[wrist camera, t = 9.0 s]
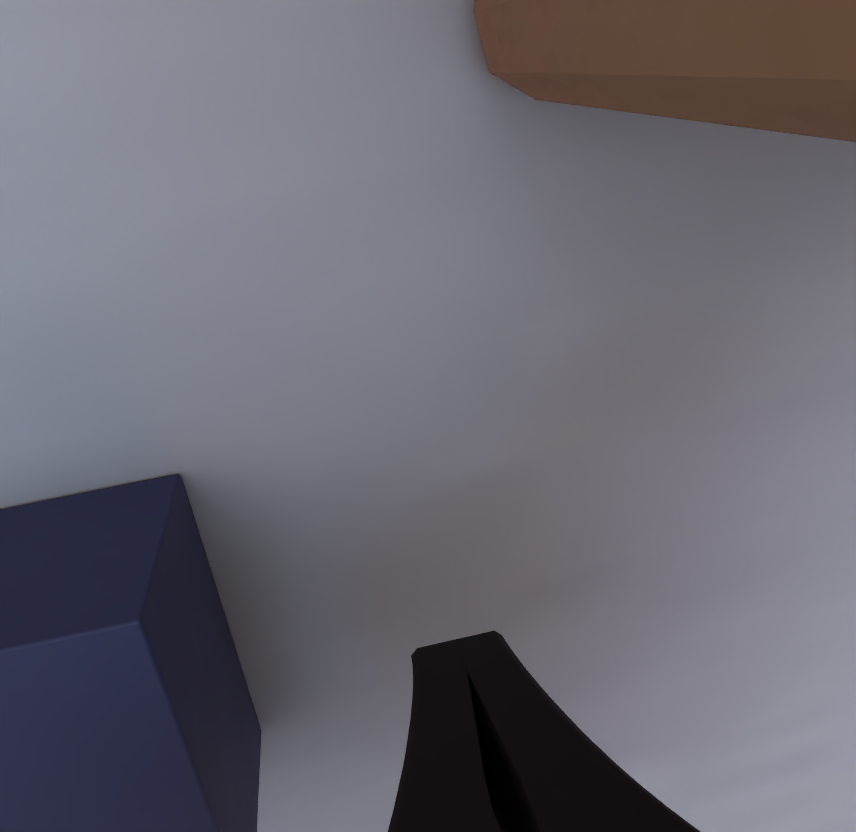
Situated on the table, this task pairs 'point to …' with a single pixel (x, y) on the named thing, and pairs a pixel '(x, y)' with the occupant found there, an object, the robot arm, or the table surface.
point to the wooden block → (684, 58)
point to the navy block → (119, 671)
